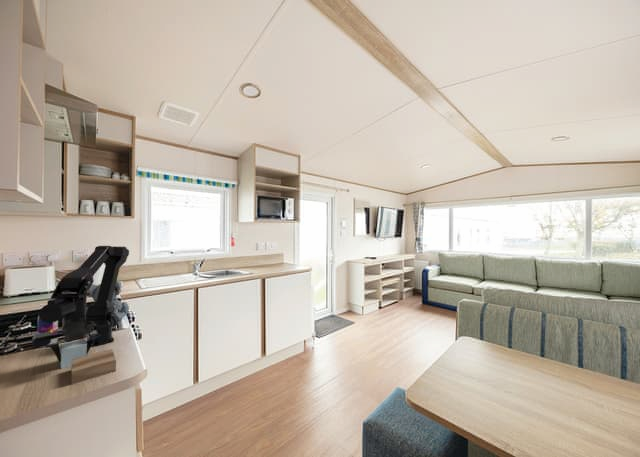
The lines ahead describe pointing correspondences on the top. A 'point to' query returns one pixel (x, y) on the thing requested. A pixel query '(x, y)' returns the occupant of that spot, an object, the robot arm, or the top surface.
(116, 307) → the koala plush
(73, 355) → the slate cube
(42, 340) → the robot arm
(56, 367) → the top surface
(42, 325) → the energy drink
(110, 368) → the walnut block
